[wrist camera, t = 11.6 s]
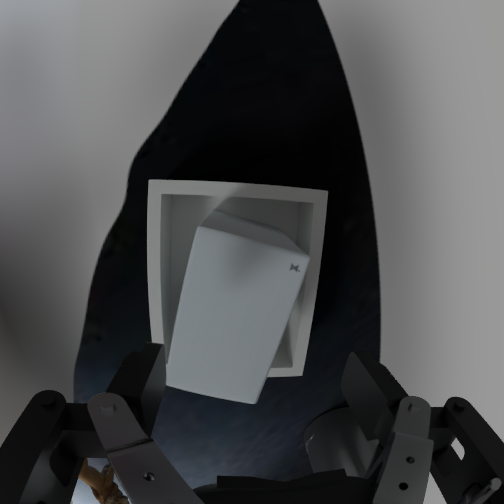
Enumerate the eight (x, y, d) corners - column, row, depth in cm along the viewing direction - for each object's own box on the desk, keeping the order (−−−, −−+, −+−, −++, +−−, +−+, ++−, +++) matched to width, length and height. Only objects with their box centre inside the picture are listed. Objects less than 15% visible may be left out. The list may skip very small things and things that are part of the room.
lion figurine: (139, 477, 33) (131, 517, 24) (120, 480, 33) (111, 517, 24) (74, 425, 29) (53, 466, 20) (58, 431, 29) (38, 468, 21)
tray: (309, 190, 25) (328, 191, 20) (290, 347, 28) (301, 375, 23) (164, 181, 24) (148, 179, 19) (165, 343, 27) (155, 371, 22)
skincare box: (208, 208, 24) (195, 222, 13) (280, 228, 25) (318, 255, 14) (182, 317, 26) (161, 387, 15) (247, 332, 27) (260, 407, 16)
